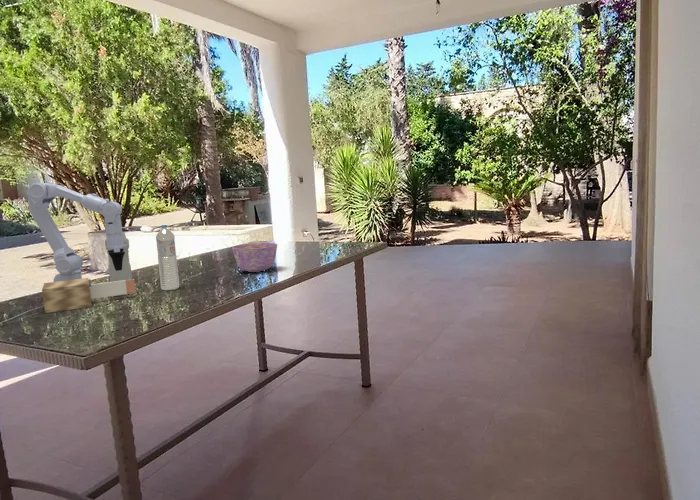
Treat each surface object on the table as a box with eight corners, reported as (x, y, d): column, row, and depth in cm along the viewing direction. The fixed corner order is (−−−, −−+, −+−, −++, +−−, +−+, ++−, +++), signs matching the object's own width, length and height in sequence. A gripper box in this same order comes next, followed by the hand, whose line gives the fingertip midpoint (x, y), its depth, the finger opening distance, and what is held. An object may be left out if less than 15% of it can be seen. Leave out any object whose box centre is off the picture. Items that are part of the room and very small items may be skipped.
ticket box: (45, 313, 174) (41, 289, 173) (47, 305, 186) (44, 283, 185) (93, 306, 180) (90, 283, 179) (92, 298, 193) (90, 277, 192)
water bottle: (169, 291, 199) (162, 226, 196) (157, 290, 203) (150, 226, 200) (183, 287, 205) (177, 224, 202) (171, 286, 209) (165, 224, 205)
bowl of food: (226, 276, 226) (224, 249, 224) (243, 267, 246) (241, 243, 244) (271, 275, 223) (269, 248, 221) (284, 266, 242) (282, 242, 241)
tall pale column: (135, 280, 226) (130, 230, 223) (130, 282, 222) (125, 231, 219) (112, 281, 227) (106, 231, 224) (107, 283, 223) (101, 232, 220)
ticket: (77, 300, 184) (76, 286, 183) (77, 300, 185) (76, 286, 184) (135, 292, 192) (134, 279, 191) (135, 292, 193) (134, 278, 193)
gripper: (127, 234, 194) (130, 270, 195) (124, 231, 206) (128, 265, 208) (106, 235, 190) (110, 272, 192) (104, 233, 203) (108, 267, 205)
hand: (118, 269), depth 200 cm, fingers open, 7 cm apart
